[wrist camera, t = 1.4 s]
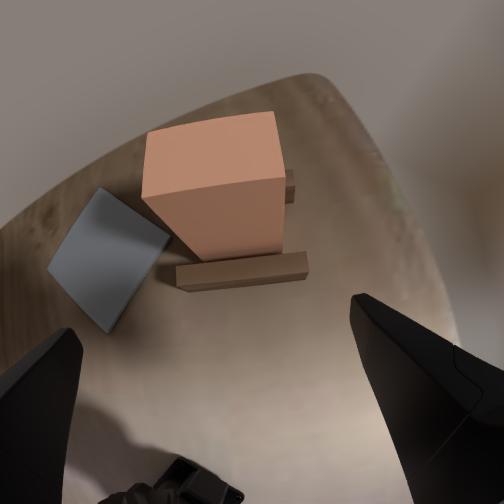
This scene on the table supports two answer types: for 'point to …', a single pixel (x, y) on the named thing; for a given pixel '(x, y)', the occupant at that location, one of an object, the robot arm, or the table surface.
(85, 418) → the table surface
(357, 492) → the table surface
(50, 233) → the table surface
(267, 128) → the thick orange-brown block
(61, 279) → the slate mat
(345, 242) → the table surface
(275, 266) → the slot holder
